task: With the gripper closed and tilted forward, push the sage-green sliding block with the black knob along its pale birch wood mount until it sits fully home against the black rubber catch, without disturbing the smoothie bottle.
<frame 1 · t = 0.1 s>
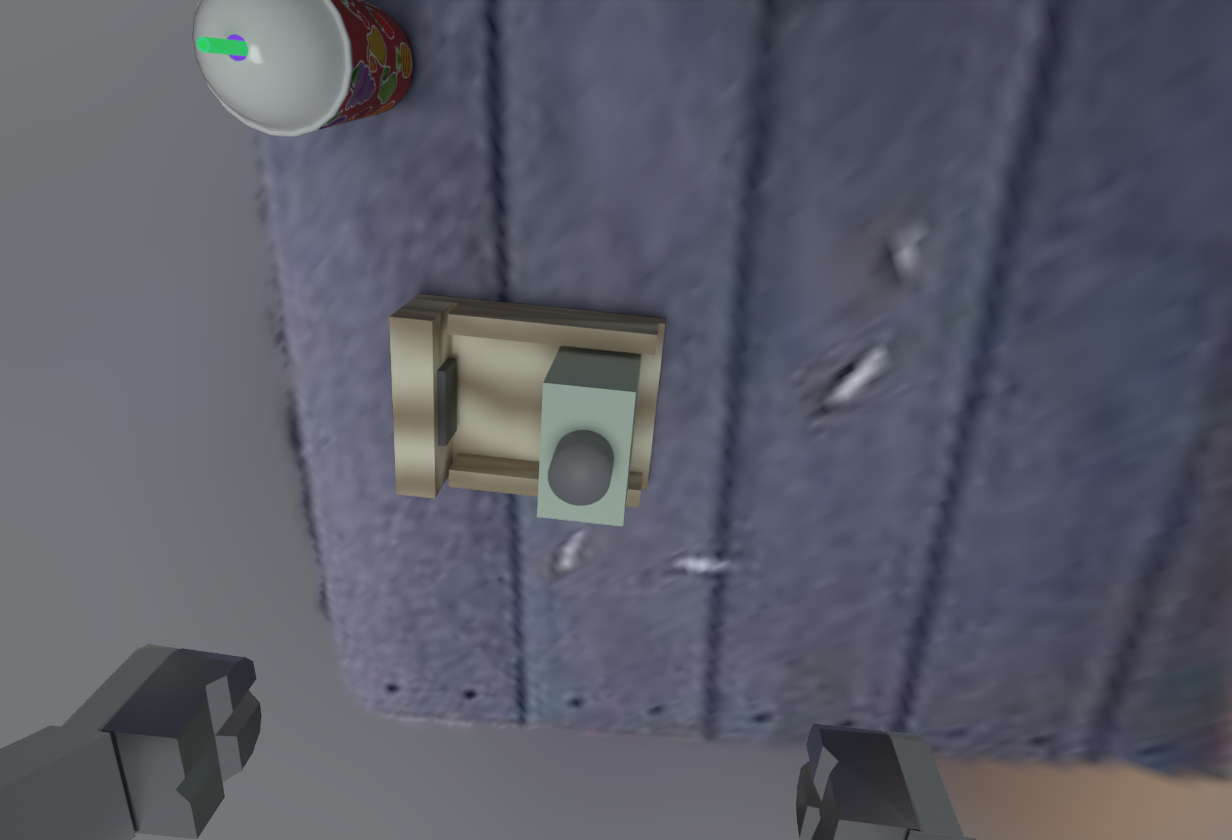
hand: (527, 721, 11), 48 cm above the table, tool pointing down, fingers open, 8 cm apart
slider: (589, 438, 54), point 8 cm above the table, slide at 0.0 cm
mount: (537, 391, 61), on the table
smoothie: (371, 60, 52), on the table
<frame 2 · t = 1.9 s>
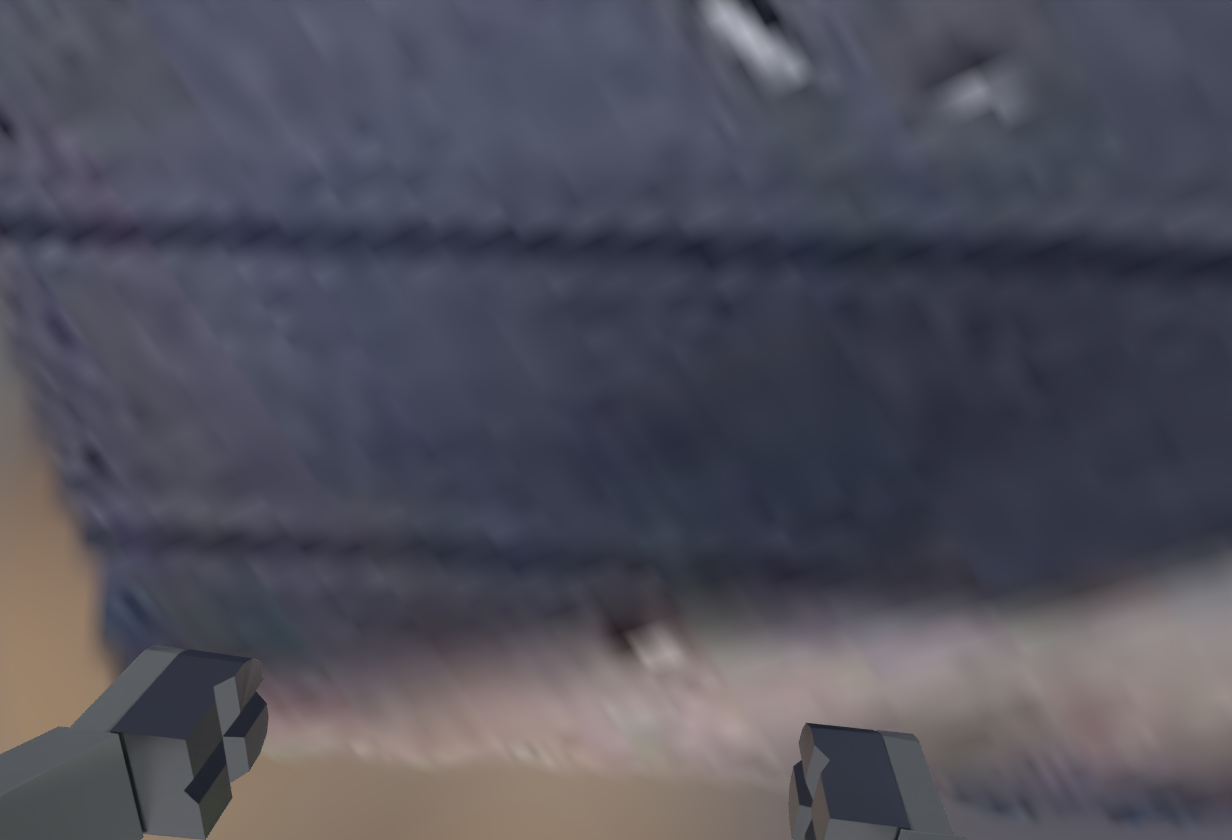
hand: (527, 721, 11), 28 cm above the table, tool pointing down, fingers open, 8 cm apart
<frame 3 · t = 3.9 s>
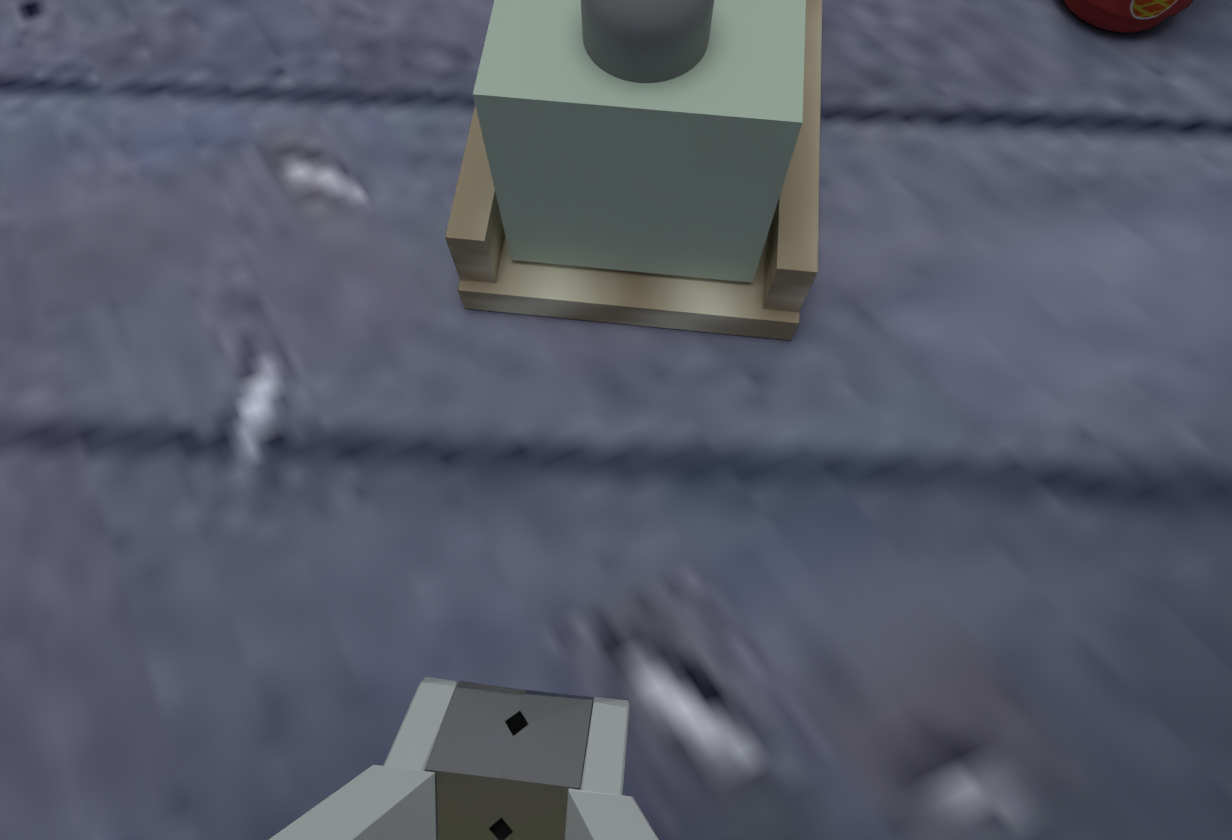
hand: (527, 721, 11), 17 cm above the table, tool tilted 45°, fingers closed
slider: (642, 105, 27), point 8 cm above the table, slide at 0.0 cm
mount: (647, 147, 36), on the table
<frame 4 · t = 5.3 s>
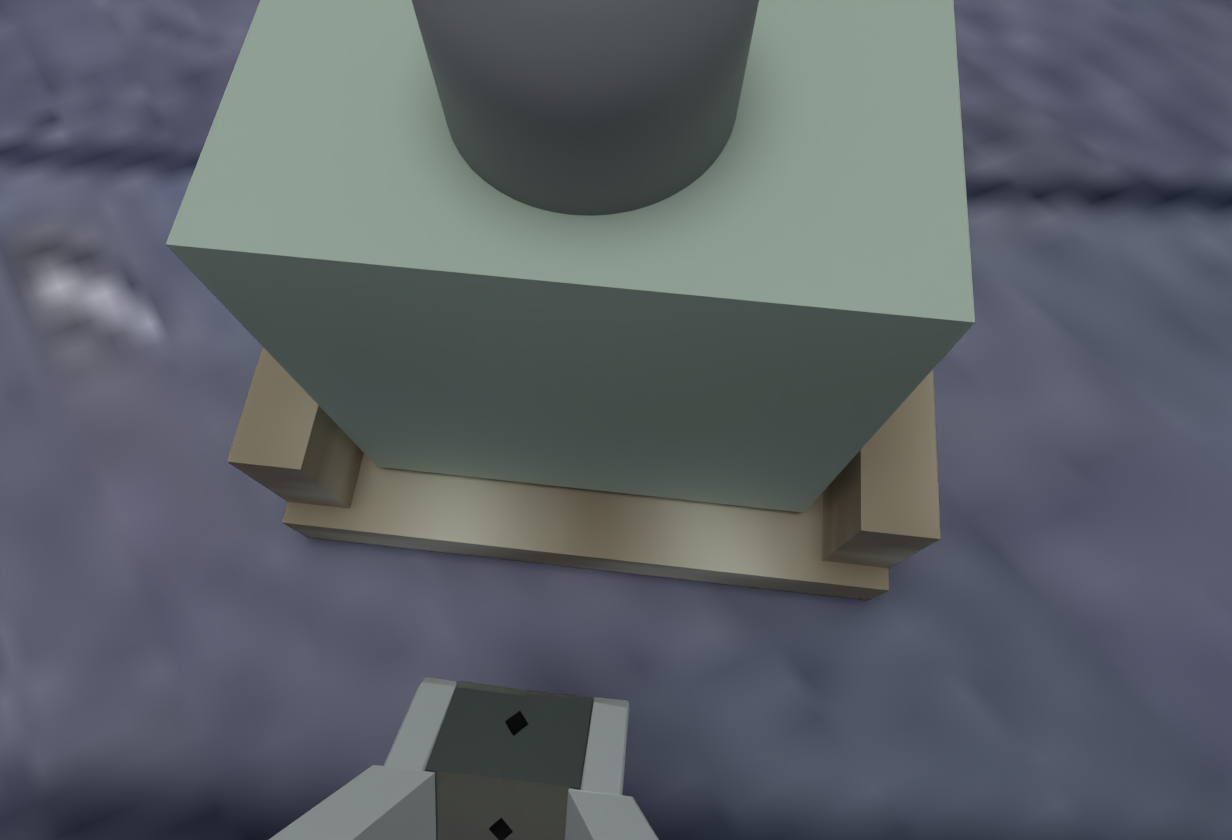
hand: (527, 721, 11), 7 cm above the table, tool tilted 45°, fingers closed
slider: (596, 226, 13), point 8 cm above the table, slide at 0.0 cm
mount: (624, 244, 22), on the table
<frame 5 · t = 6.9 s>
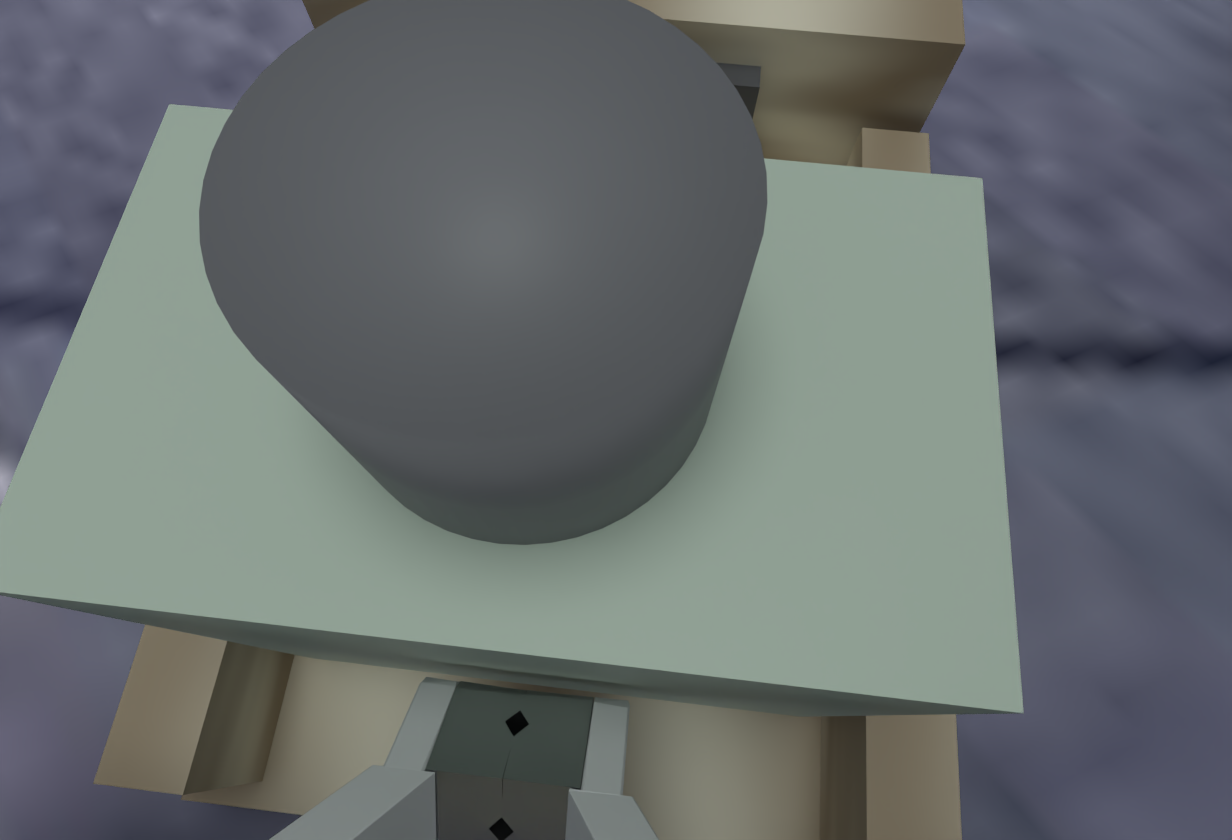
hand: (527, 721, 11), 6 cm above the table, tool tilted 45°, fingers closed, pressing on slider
slider: (551, 451, 11), point 8 cm above the table, slide at 1.4 cm, touching gripper
mount: (594, 418, 20), on the table
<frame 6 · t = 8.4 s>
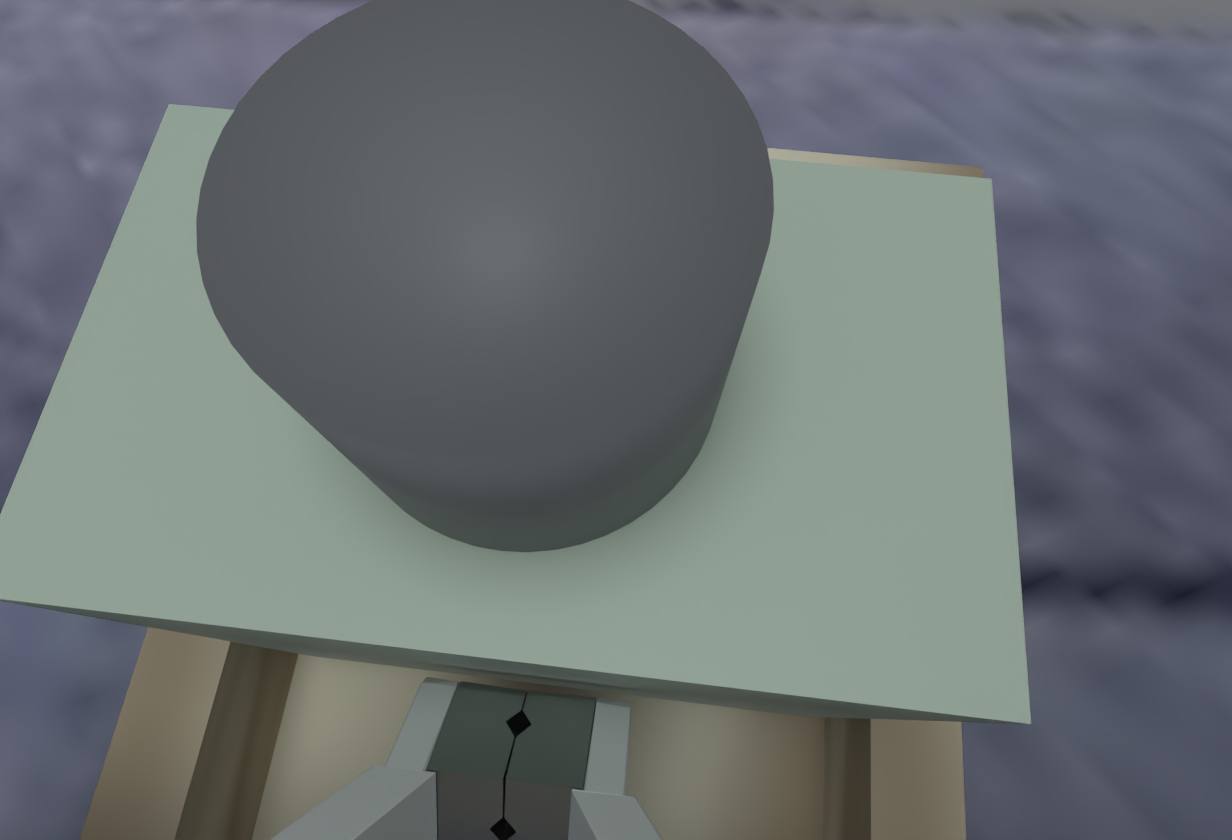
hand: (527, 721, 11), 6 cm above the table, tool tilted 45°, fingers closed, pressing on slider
slider: (554, 453, 11), point 8 cm above the table, slide at 7.6 cm, touching gripper
mount: (565, 669, 17), on the table
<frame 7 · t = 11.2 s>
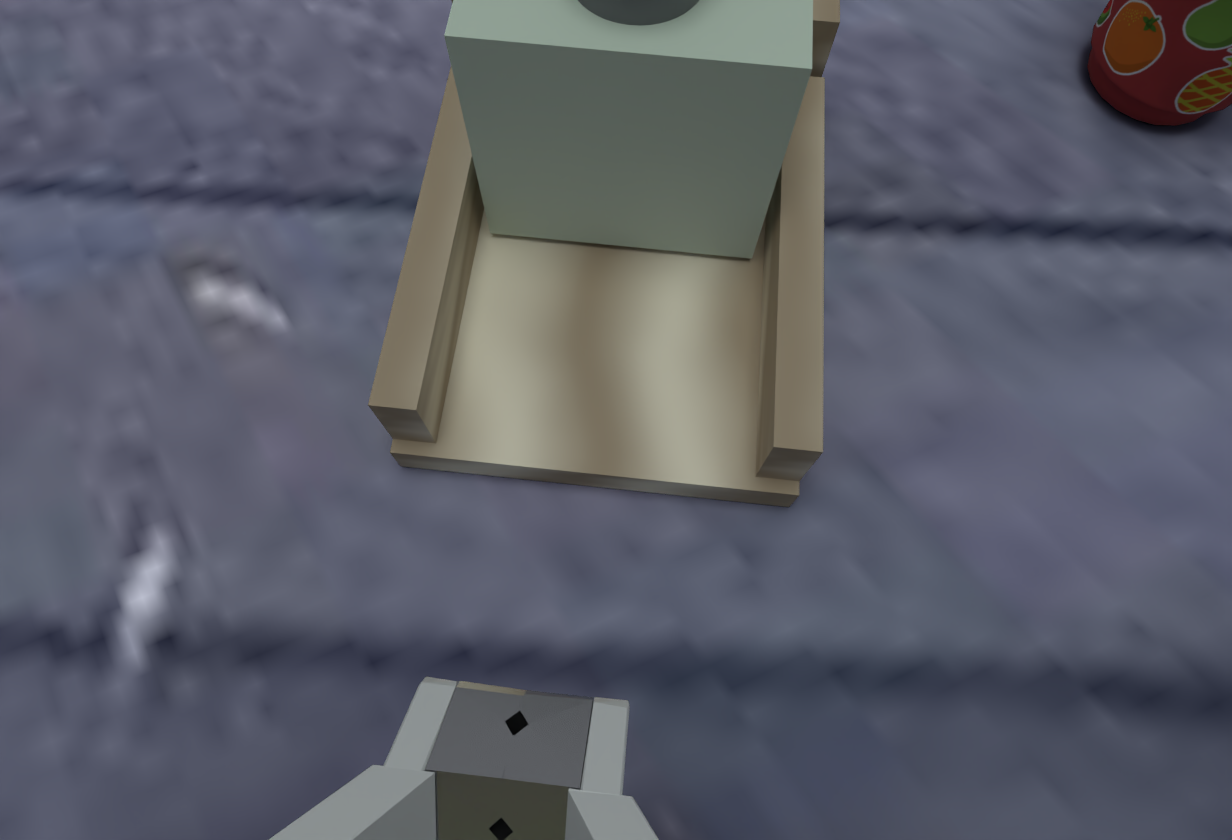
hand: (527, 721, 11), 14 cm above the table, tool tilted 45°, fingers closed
slider: (633, 58, 25), point 8 cm above the table, slide at 7.5 cm
mount: (620, 261, 31), on the table
smoothie: (1145, 82, 35), on the table
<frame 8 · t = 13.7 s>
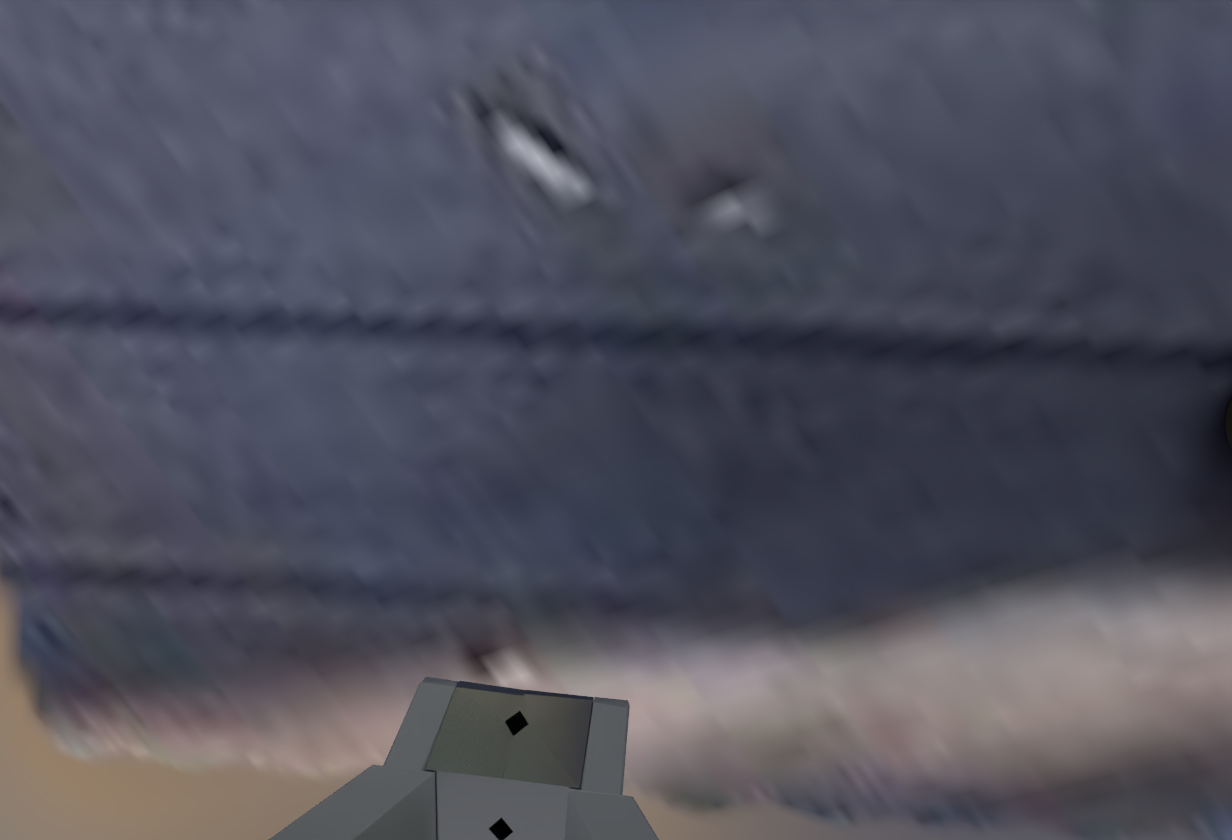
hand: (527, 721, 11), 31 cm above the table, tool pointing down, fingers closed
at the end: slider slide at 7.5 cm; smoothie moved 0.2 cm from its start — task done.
